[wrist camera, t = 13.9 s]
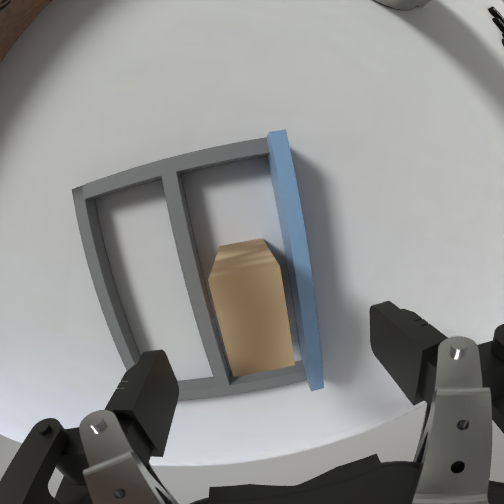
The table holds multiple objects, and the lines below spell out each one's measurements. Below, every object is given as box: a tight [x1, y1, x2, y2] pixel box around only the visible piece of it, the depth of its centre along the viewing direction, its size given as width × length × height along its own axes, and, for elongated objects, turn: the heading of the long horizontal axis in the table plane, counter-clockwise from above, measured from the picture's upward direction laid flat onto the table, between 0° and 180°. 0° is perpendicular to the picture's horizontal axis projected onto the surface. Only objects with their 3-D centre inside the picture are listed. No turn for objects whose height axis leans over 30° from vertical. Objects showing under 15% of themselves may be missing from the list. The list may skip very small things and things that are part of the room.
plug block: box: [208, 238, 295, 377], centre depth 16 cm, size 3×5×8 cm, turn 11°
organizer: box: [72, 130, 324, 400], centre depth 18 cm, size 15×18×3 cm
